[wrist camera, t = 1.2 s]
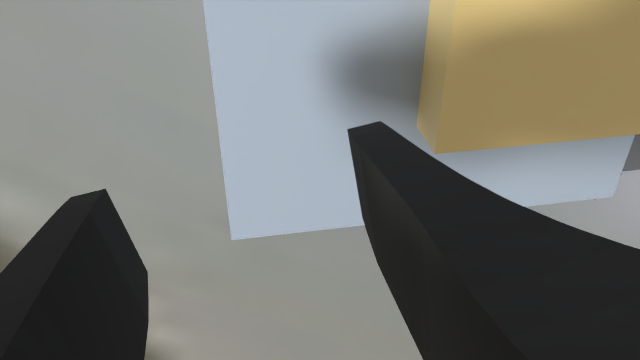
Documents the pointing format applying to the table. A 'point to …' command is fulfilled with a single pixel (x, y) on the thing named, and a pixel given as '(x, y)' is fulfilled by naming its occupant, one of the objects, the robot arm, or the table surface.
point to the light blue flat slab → (351, 114)
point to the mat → (633, 155)
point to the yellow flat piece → (529, 72)
